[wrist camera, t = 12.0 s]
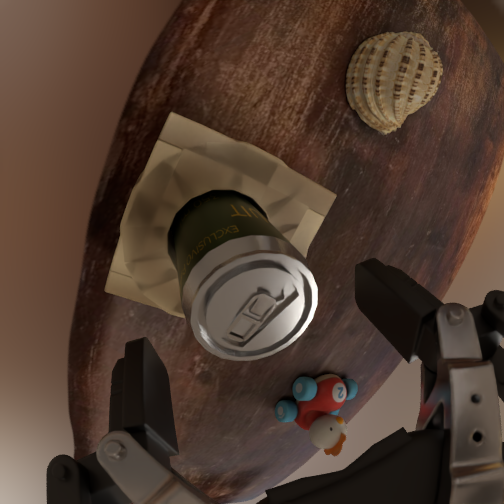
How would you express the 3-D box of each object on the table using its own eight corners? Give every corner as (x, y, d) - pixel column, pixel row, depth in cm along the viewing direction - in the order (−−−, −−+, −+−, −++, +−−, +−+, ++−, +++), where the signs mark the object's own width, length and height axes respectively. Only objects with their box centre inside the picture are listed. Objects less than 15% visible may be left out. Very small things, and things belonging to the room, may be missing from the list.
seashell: (389, 119, 24) (422, 36, 17) (425, 152, 21) (468, 58, 13) (325, 104, 22) (357, 4, 15) (359, 136, 19) (404, 16, 11)
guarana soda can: (217, 260, 23) (266, 376, 12) (158, 226, 20) (157, 338, 10) (259, 204, 22) (347, 286, 11) (200, 163, 19) (244, 215, 9)
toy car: (354, 370, 35) (392, 423, 27) (319, 410, 38) (348, 461, 29) (303, 367, 32) (341, 433, 23) (268, 411, 34) (295, 473, 25)
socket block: (169, 111, 17) (169, 106, 13) (306, 178, 22) (341, 193, 17) (111, 257, 20) (100, 293, 16) (242, 298, 25) (259, 335, 21)
